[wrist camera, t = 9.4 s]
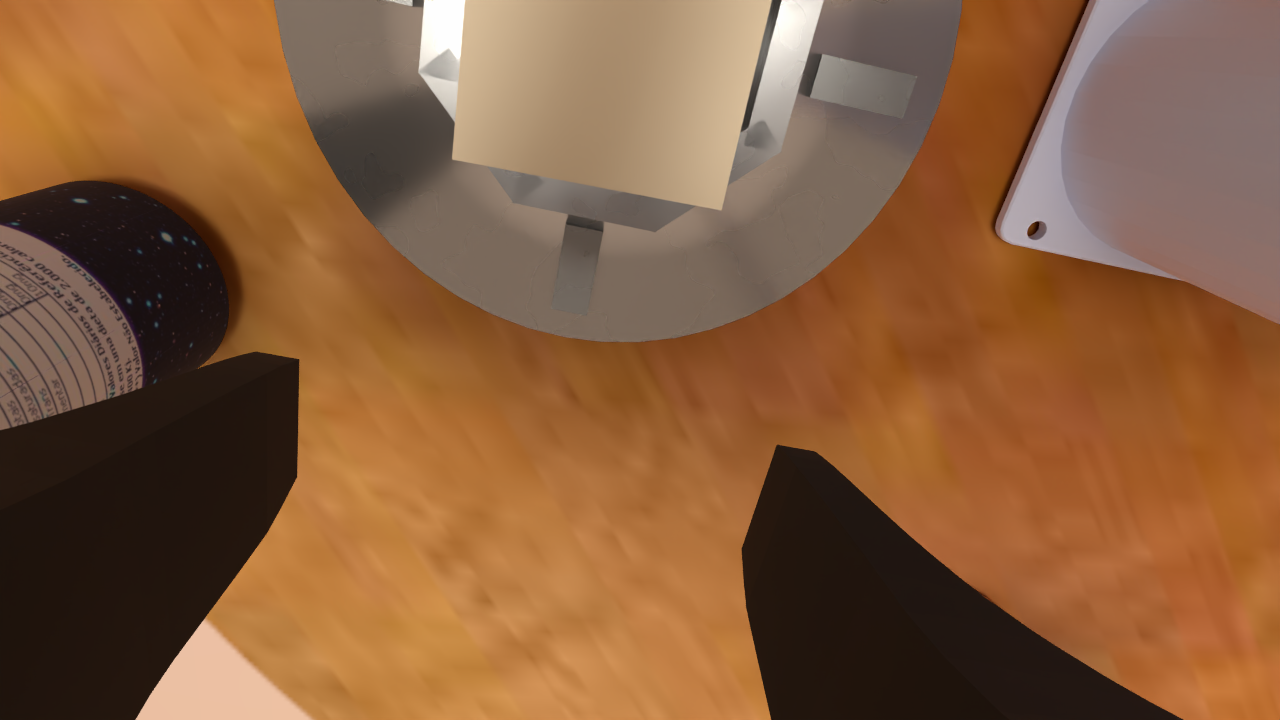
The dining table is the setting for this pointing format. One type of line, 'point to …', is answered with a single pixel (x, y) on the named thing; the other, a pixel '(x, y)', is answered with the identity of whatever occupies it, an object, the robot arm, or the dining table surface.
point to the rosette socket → (613, 220)
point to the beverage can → (99, 298)
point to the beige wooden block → (609, 91)
